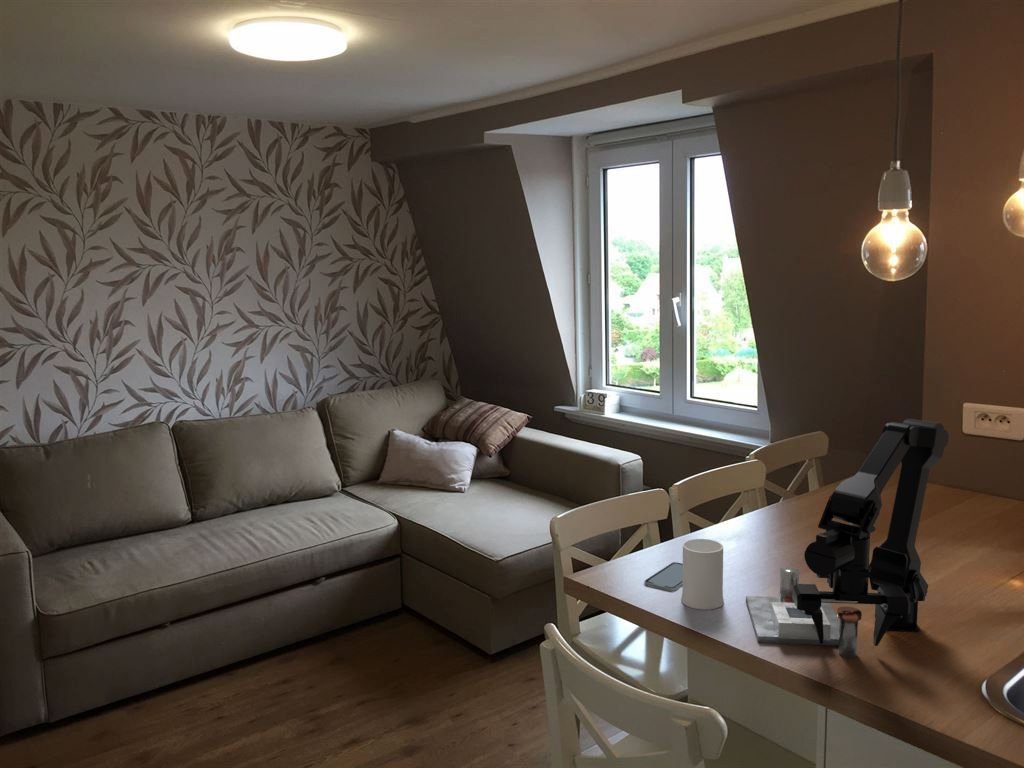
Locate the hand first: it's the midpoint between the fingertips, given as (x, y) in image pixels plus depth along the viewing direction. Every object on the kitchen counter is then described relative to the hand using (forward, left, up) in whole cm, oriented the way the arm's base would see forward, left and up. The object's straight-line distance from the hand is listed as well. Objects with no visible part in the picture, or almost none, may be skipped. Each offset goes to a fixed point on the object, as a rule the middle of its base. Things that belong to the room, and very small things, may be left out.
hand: (848, 644), depth 150 cm
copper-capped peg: (0, 0, -2) cm, 2 cm away
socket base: (+7, -12, -2) cm, 14 cm away
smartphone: (+29, -33, -2) cm, 44 cm away
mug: (+23, -22, -2) cm, 32 cm away
